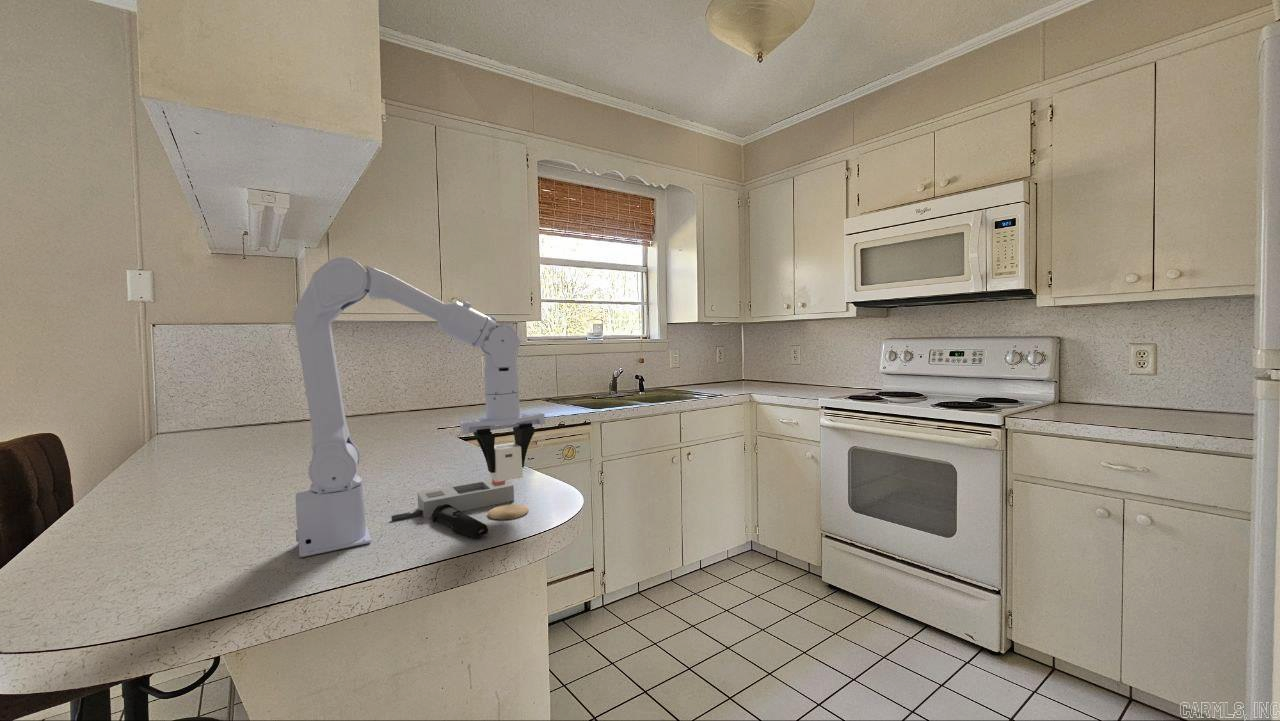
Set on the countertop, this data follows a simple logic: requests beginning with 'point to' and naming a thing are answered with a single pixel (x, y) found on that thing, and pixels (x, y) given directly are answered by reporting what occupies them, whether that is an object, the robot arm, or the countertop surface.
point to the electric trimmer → (459, 521)
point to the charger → (507, 462)
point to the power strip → (462, 497)
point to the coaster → (508, 511)
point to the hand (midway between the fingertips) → (506, 469)
